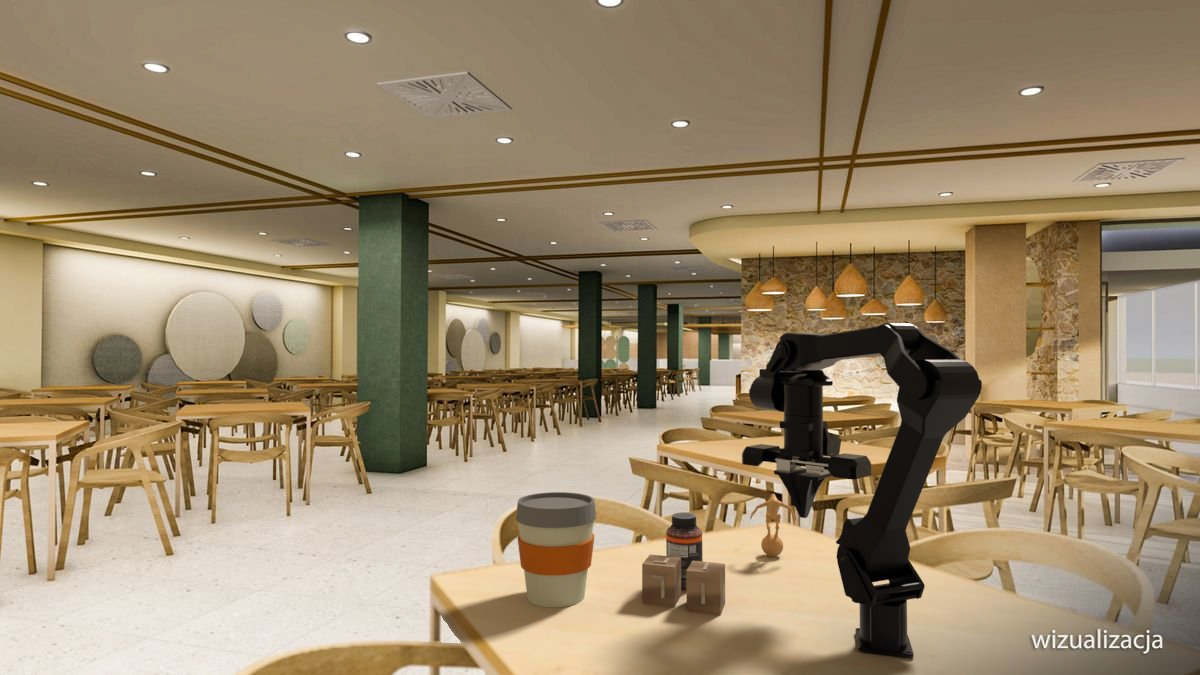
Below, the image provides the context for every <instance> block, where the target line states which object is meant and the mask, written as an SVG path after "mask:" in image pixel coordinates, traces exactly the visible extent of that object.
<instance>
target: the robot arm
mask: <svg viewBox="0 0 1200 675" xmlns="http://www.w3.org/2000/svg"><path fill="white" fill-rule="evenodd" d="M878 356H879V357H880V356H881V357H882V358H883V359H884V365H885V369H886V373H887V375H888V376H889V378H891V380H893V382H894V383H895V384H896V385H897V386H898V393H897V397H896V403H897V407H898V412H899V414H900V420H901V422H900V425H899V428H898V431H897V433H896V435H895V438H894V440H893V443H892V446H891V449H890V450H889V451H890V452H889V454H888V456H887V459H886V461H885V465H884V467H883V470H882V471H881V472H882V473H881V475H880V477H879V479H878V483H877V485H876V488H875V491H874V494H873V496H872V499H871V502H870V504H869V506H868V509H867V512H866V514H865V515H864V516H859V517H849V518H846V519H845V521H844V523H842V524H843V525H842V529H841V534H840V536H839V538H838V539H837V540H835V543H836V545H838V546H837V550H836V561H837V566H838V571H839V575H840V578H841V582H842V587H843V591H844V595H845V596H846V597H848V598H851V599H850V600H851V602H852V603H855V604H859V627H856V628H855V638H856V646H857V650H858V651H860V652H865V653H873V654H879V655H880V654H881V655H888V656H894V657H895V656H896V657H902V658H903V657H904V658H911V659H912V658H914V654H915V653H914V650H913V647H912V644H911V641H910V638H909V636H908V601H910V600H914V599H921V598H922V596H923V594H924V593H923V592H924V590H925V583H924V581H923V580H922V579H921V576H920V575H919V574H918V571H917V570H916V569H915V567H914V566H913V564H912V563H911V561H910V559H909V557H910V552H911V545H910V541H909V536H908V533H907V527H908V524H909V523H910V520H911V517H912V515H913V513H914V510H915V508H916V505H917V503H918V501H919V497H920V496H921V494H922V491H923V489H924V486H925V483H926V481H927V479H928V476H929V474H930V471H931V469H932V467H933V465H934V464H933V463H934V462H935V460H936V457H937V455H938V451H939V449H940V447H941V444H942V442H943V439H944V438H945V436H946V435H947V434H948V433H949V432H950V431H951V430H952V429H953V428H954V427H956V426H957V425H958V424H959V423H961V422H962V420H964V419H965V418H966V417H967V416H968V414H969V413H970V411H971V410H972V408H973V407H974V405H975V403H976V402H977V400H978V399H979V397H980V395H981V393H982V387H983V384H982V383H983V382H982V379H980V377H979V374H978V371H977V370H976V369H975V367H974V366H973V365H972V364H971V363H969V362H968V361H965V360H963V359H961V358H960V357H959V356H958V355H957V354H956V353H955V352H954V351H952V350H951V349H949V348H947V347H945V346H944V345H942V344H941V343H938V342H937V341H936V340H934V339H932V338H931V337H928V336H927V335H926V334H925V333H924V332H923V331H922V330H921V329H920V328H919V327H917V326H915V325H914V324H912V323H909V322H908V323H905V322H904V323H903V322H902V323H901V322H896V323H895V322H884V323H882V324H880V325H877V326H870V327H865V328H859V329H853V330H852V329H851V330H846V331H841V332H833V333H820V332H817V333H815V332H785V333H783V334H782V335H780V337H779V341H778V342H777V344H776V346H775V348H774V350H773V353H772V354H771V356H770V359H769V361H768V362H767V364H766V365H765V367H766V368H759V376H758V377H756V378H754V379H753V381H752V383H751V385H750V388H749V390H748V396H749V399H750V402H751V403H752V405H753V406H754V407H755V408H757V409H759V410H763V411H771V412H772V411H773V412H782V413H783V420H781V421H779V429H783V447H780V446H779V445H771V444H770V445H769V444H764V443H763V444H762V443H759V444H753V445H749V446H745V448H744V449H743V450H742V453H741V464H742V465H744V466H752V467H760V466H761V465H762V464H763V463H764V462H767V463H772V464H773V463H774V464H775V463H776V466H775V468H776V469H775V470H773V474H774V475H776V476H778V477H779V479H780V480H781V483H782V484H783V485H784V487H785V490H786V491H787V492H788V494H789V496H790V499H791V502H792V503H793V505H794V508H795V510H796V512H797V514H798V516H799V518H801V519H806V518H808V517H809V515H810V511H811V510H812V506H813V504H814V501H815V499H816V496H817V494H818V491H819V489H820V487H821V485H822V483H823V482H824V481H825V479H827V478H831V477H833V478H837V479H838V478H839V479H846V480H859V479H862V478H865V477H868V476H869V477H870V476H872V462H871V460H870V458H868V456H867V455H863V454H852V453H840V451H841V446H842V445H841V444H842V438H840V437H839V436H838V435H836V434H834V433H832V432H829V425H828V421H827V420H824V414H823V413H824V392H823V389H824V388H823V387H830V386H833V384H834V382H833V380H832V379H831V378H830V377H828V376H827V375H826V374H825V372H824V369H826V368H829V367H832V366H835V364H836V363H837V362H840V361H842V360H850V359H860V358H869V357H878ZM882 581H888V583H882V584H876V585H874V583H877V582H882Z"/></svg>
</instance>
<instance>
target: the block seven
mask: <svg viewBox="0 0 1200 675" xmlns="http://www.w3.org/2000/svg"><path fill="white" fill-rule="evenodd" d="M641 565H642V566H641V568H642V569H641V576H642V578H641V582H642V583H641V585H642V586H641V591H642V592H641V602H642V604H645V605H652V606H662V607H667V608H670V607H671V608H675V607H676V605H677V604H678V602H679V600H680V598H681V597H682V589H681V557H670V556H667V555H659V554H658V555H657V554H649V555H648V557H647V558H646V559H645V560H644V561H643V562H642V564H641Z"/></svg>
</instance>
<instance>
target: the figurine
mask: <svg viewBox="0 0 1200 675" xmlns="http://www.w3.org/2000/svg"><path fill="white" fill-rule="evenodd" d="M764 507H767V509H768V511H769V513H768V512H767V513H766V514H765V523H766V529H767V535H765V536H763V538H762V540H761V544H760V545H761V550H762V551H763V553H764V554H765V555H767V556H769V557H777V556H779V555H781V553H782V552H783V550H784V543H783V541H782V539H781V537H780V536H779V530H780V525H779V524H780V522H781V518H782V515H781V514H780V513H779V510H780V507H783V508H785V509H788V510H789V512H790V514H791V515H792V518H793V520H794V521H797V518H796V514H795V512H794V511H793V508H792V507H791V506H789V505H788V504H786V503H784V502H782V501H780V500H779V499H778V498H777V496H776V494H775V493H772V494H771V495H770V497H769V499H768V500H767V501H764V502H763V503H759V504H758V505H757V506H755V508H754V510H753V511H752V512H751V514H750V516H749V517H750V518H749V519H750V520H752V519H753V516H754V515H755V514H756V513H757V511H758V509H761V508H764ZM772 520H774V523H775V527H774V528H775V532H774V534H773V533H772V534H771V526H770V523H771V522H772Z"/></svg>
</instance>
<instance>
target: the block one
mask: <svg viewBox="0 0 1200 675" xmlns="http://www.w3.org/2000/svg"><path fill="white" fill-rule="evenodd" d="M686 573H687V589H686V612H689V613H697V614H698V613H700V614H705V615H713V616H722V613H723V610H724V608H725V605H726V564H725V563H722V562H721V563H720V562H711V561H703V562H702V561H692V562H691V564H690V566H689V567H688V569H687V571H686Z"/></svg>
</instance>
